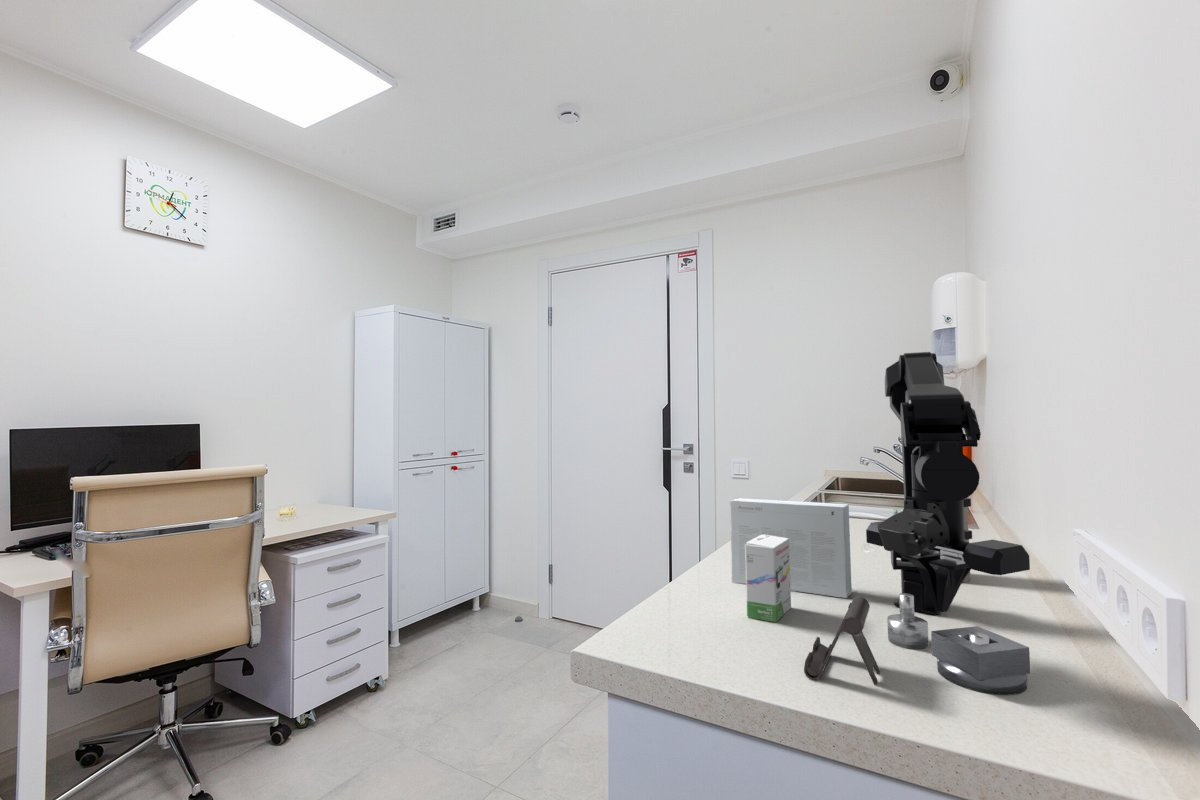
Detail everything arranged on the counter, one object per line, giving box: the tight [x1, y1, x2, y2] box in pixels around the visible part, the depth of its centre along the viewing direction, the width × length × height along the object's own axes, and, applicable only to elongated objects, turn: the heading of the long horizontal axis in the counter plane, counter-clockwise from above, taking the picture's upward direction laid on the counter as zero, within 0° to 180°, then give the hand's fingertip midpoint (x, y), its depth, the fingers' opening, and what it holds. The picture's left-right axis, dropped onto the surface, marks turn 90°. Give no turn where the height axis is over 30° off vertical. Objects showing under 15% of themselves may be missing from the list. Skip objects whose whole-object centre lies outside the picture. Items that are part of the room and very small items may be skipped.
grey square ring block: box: [930, 625, 1031, 680], centre depth 69 cm, size 7×7×3 cm
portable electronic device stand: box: [803, 596, 881, 686], centre depth 71 cm, size 9×8×8 cm
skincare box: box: [729, 497, 853, 599], centre depth 106 cm, size 21×6×16 cm, turn 58°
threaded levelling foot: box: [886, 592, 929, 650], centre depth 79 cm, size 5×5×6 cm
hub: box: [936, 632, 1028, 696], centre depth 69 cm, size 9×9×5 cm
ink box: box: [745, 535, 792, 623], centre depth 92 cm, size 8×5×12 cm, turn 145°
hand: (941, 611), depth 73 cm, fingers closed
